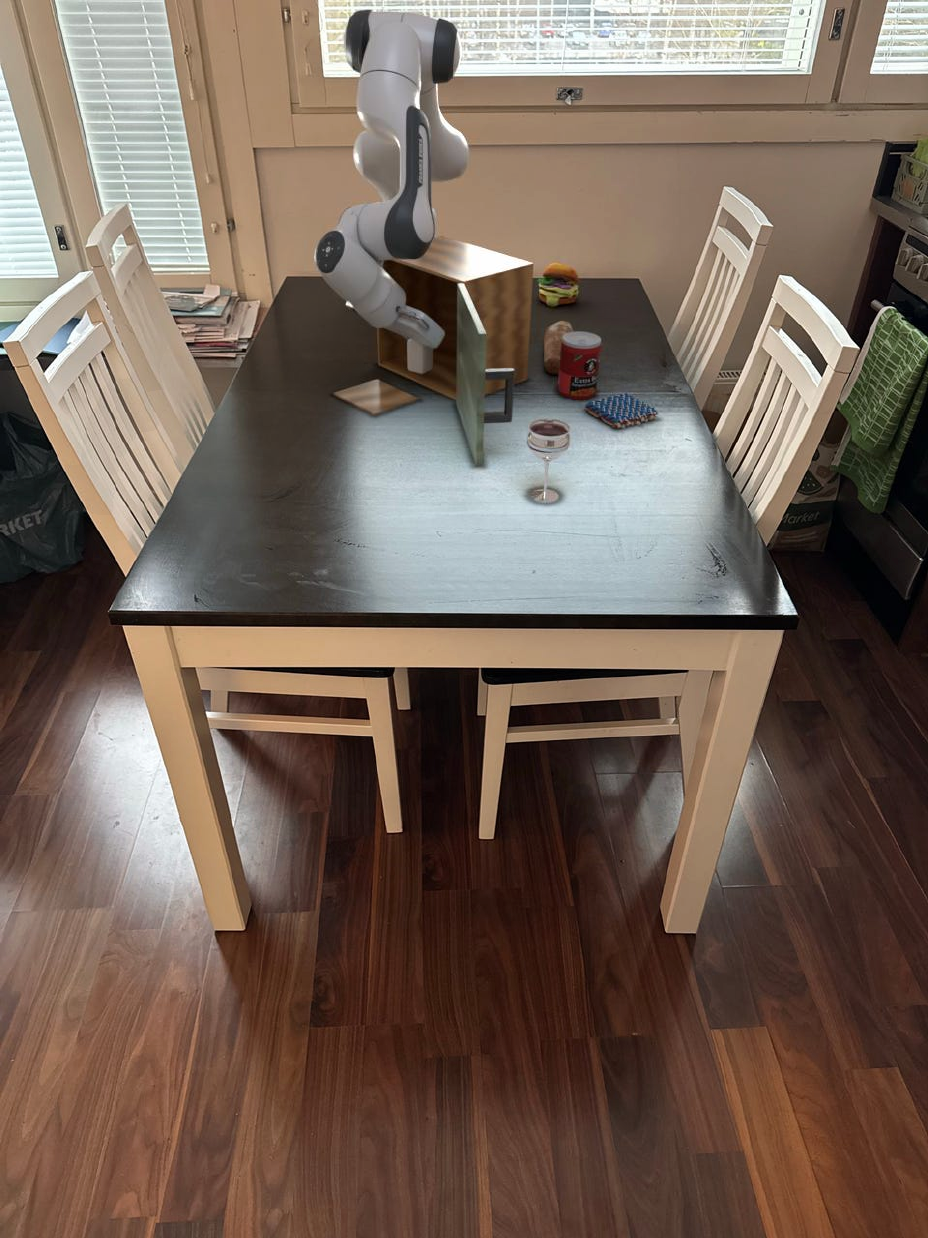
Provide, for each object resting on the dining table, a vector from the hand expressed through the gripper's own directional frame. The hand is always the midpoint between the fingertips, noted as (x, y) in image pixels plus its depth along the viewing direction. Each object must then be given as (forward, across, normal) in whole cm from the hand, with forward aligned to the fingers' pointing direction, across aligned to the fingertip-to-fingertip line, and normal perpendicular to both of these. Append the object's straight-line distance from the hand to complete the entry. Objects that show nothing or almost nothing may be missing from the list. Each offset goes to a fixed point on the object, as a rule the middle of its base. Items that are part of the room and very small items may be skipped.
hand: (422, 341), depth 181 cm
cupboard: (+12, 0, 0) cm, 12 cm away
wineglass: (-5, -49, +18) cm, 52 cm away
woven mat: (+19, -37, -7) cm, 42 cm away
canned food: (+20, -24, -8) cm, 32 cm away
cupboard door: (+1, -25, +11) cm, 27 cm away
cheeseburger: (+48, +18, -36) cm, 63 cm away
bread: (+27, -10, -15) cm, 33 cm away
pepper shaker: (+4, 0, +4) cm, 6 cm away
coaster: (-2, 0, +14) cm, 15 cm away
